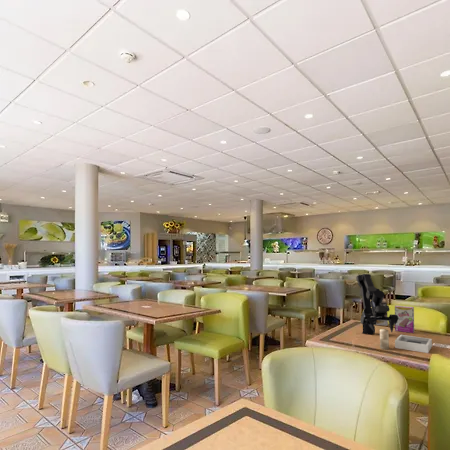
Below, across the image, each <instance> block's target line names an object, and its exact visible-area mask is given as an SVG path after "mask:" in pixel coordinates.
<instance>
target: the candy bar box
mask: <svg viewBox="0 0 450 450" xmlns="http://www.w3.org/2000/svg"><path fill="white" fill-rule="evenodd" d="M394 315H397V316H398V321H397V323H396V324H395V325H394V332H400V333H401V332H402V333H409V334H415V307H414V306H406V305H405V306H404V305H394Z"/></svg>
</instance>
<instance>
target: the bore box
mask: <svg viewBox="0 0 450 450" xmlns="http://www.w3.org/2000/svg"><path fill="white" fill-rule="evenodd" d="M432 346H433V339H432V338H428V337H419V336H415V335H406V334H405V335H404V334H400V335H399V336H397V338H395V340H394V347H395V349H400V350H406V351H407V350H408V351H414V352H419V353H424V354H425V353H426V354H429V353H430V350H431V349H432Z"/></svg>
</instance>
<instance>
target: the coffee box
mask: <svg viewBox="0 0 450 450" xmlns="http://www.w3.org/2000/svg"><path fill="white" fill-rule="evenodd" d="M381 305H382V306H385V305H388V303H387V301H384V300H383V301H382V303H381ZM385 313H386V315H384V316H385V317H388V311H387V312H385ZM374 326H386V327H387V326H389V321H382V320H376V325H375V324H374Z"/></svg>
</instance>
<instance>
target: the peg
mask: <svg viewBox="0 0 450 450" xmlns="http://www.w3.org/2000/svg"><path fill="white" fill-rule="evenodd" d="M389 342H390V338H389V330H388V329H386V328H381V329H379V348H380V349H381V350H386V351H387V350H389V349H390V345H389V344H390V343H389Z"/></svg>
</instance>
